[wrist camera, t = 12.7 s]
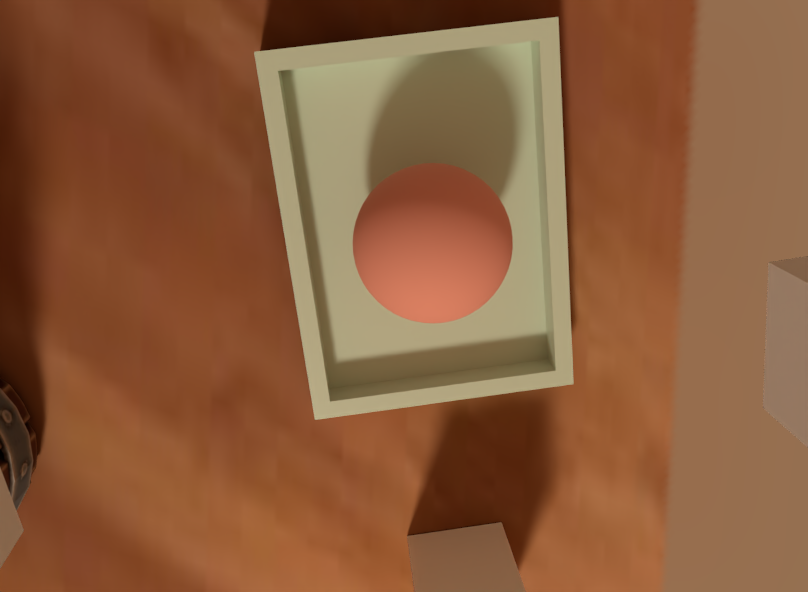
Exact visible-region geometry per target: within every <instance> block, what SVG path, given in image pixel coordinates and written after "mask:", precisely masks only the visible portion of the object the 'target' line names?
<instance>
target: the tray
mask: <svg viewBox="0 0 808 592" xmlns="http://www.w3.org/2000/svg"><path fill="white" fill-rule="evenodd" d="M254 54H255V60H256V66H257V73H258V79H259V85H260V91H261V97H262V103H263V109H264V115H265V121H266V127H267V133H268V139H269V145H270V151H271V157H272V163H273V169H274V175H275V181H276V187H277V193H278V199H279V205H280V212H281V218H282V224H283V230H284V236H285V242H286V248H287V254H288V260H289V266H290V272H291V278H292V284H293V290H294V296H295V302H296V308H297V314H298V320H299V326H300V332H301V338H302V344H303V351H304V357H305V363H306V369H307V375H308V381H309V387H310V393H311V399H312V405H313V411H314V417H315V420H317V419H325V418H332V417H339V416H346V415H354V414H361V413H368V412H375V411H382V410H390V409H397V408H404V407H411V406H419V405H426V404H433V403H440V402H448V401H455V400H462V399H469V398H476V397H484V396H491V395H498V394H505V393H513V392H520V391H527V390H534V389H542V388H549V387H556V386H563V385H571V384H573V359H572V335H571V311H570V286H569V262H568V238H567V213H566V189H565V165H564V140H563V116H562V92H561V67H560V43H559V19H558V17H552V18H543V19H535V20H526V21H517V22H509V23H500V24H491V25H483V26H474V27H465V28H457V29H448V30H439V31H431V32H422V33H413V34H405V35H396V36H387V37H379V38H370V39H361V40H352V41H344V42H335V43H326V44H318V45H309V46H300V47H292V48H283V49H274V50H266V51H257V52H254ZM423 163H443V164H448V165H453V166H456V167H459V168H462V169H465V170H466V171H468V172H470V173H472V174H474V175H476V176H477V177H479V178H480V179H482V180H483V181H484V182H485V183H486V184H487V185H488V186H490V187H491V188H492V190H493V191H494V192H495V193H496V195H497V196H498V197H499V199H500V201H501V202H502V204H503V206H504V207H505V210H506V212H507V214H508V217H509V220H510V224H511V229H512V237H513V250H512V257H511V262H510V265H509V269H508V271H507V274H506V276H505V278H504V280H503V282H502V284H501V285H500V287H499V289H498V290H497V291H496V293H495V294H494V295H493V296H492V297H491V298H490V299H489V300H488V301H487V303H485V304H484V305H483V306H482V307H480V308H479V309H478V310H476V311H474V312H473V313H471V314H469V315H467V316H465V317H463V318H460V319H457V320H454V321H449V322H444V323H422V322H416V321H412V320H408V319H405V318H402V317H400V316H398V315H396V314H394V313H392V312H391V311H389V310H388V309H386V308H385V307H384V306H382V305H381V304H380V303H379V302H378V301H377V300H376V299H375V298H374V297H373V296H372V295H371V294H370V293H369V291H368V290H367V288H366V287H365V285H364V284H363V282H362V280H361V278H360V276H359V273H358V270H357V268H356V264H355V260H354V255H353V232H354V227H355V222H356V219H357V216H358V213H359V211H360V209H361V207H362V205H363V203H364V201H365V200H366V198H367V197H368V195H369V194H370V193H371V192H372V191H373V189H374V188H375V187H376V186H377V185H378V184H379V183H381V182H382V181H383V180H384V179H385V178H387V177H389V176H390V175H392V174H393V173H395V172H397V171H399V170H401V169H404V168H407V167H410V166H413V165H418V164H423Z"/></svg>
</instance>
